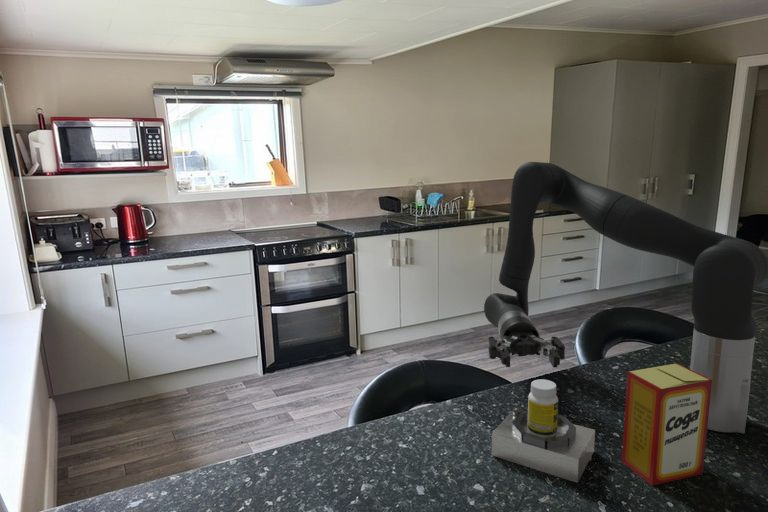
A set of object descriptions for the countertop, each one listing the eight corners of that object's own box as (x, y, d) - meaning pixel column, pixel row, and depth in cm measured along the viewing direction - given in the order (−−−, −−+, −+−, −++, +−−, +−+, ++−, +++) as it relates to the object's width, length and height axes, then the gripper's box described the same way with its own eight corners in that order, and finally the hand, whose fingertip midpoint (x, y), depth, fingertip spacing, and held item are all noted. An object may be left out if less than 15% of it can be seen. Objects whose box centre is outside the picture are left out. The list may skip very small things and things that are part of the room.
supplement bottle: (558, 440, 85) (560, 391, 83) (528, 437, 86) (529, 389, 84) (555, 425, 89) (557, 378, 88) (526, 422, 90) (527, 377, 89)
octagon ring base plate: (593, 451, 88) (595, 423, 87) (577, 483, 80) (578, 452, 79) (513, 428, 96) (514, 402, 95) (491, 455, 88) (491, 426, 87)
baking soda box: (652, 485, 79) (659, 386, 76) (621, 461, 85) (627, 369, 82) (702, 473, 82) (712, 377, 78) (669, 451, 88) (677, 361, 85)
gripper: (483, 315, 112) (493, 343, 97) (552, 315, 111) (572, 343, 95) (483, 348, 114) (492, 381, 98) (550, 348, 113) (571, 381, 97)
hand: (532, 362), depth 97 cm, fingers open, 8 cm apart
